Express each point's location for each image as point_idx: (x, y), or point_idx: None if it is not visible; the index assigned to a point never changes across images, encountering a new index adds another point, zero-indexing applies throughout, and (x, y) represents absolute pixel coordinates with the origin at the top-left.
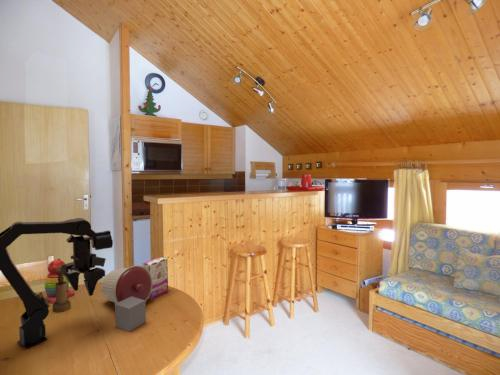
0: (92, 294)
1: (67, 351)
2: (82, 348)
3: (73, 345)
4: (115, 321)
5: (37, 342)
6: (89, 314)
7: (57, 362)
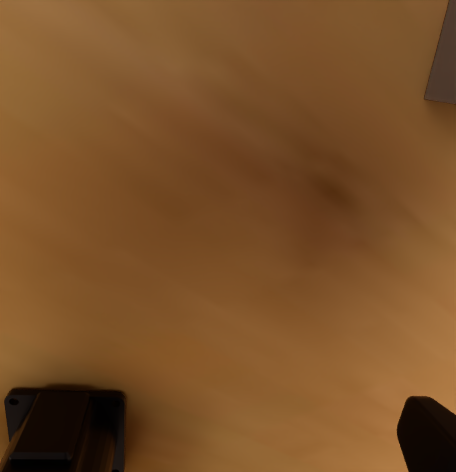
0: (434, 408)
1: (336, 400)
2: (392, 357)
3: (321, 361)
4: (450, 102)
5: (121, 438)
6: (21, 27)
7: (364, 456)
